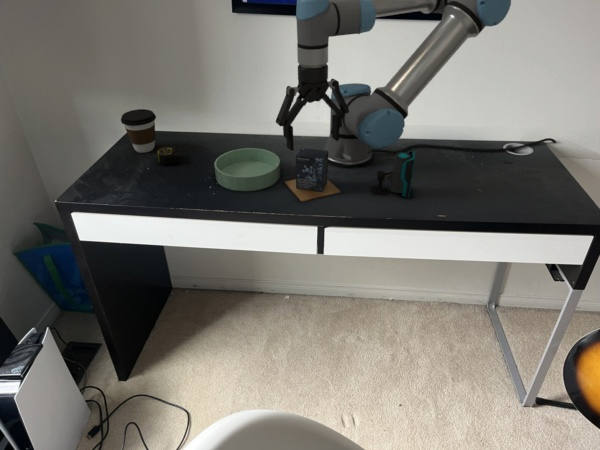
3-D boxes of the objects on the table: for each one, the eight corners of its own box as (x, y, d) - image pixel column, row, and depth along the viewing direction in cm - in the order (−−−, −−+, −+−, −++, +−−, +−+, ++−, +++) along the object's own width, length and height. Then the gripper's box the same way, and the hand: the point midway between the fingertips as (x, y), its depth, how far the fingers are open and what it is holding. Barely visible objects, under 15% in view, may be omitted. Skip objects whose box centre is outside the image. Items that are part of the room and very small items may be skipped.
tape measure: (180, 164, 149) (179, 153, 146) (158, 167, 147) (156, 156, 145) (178, 155, 154) (176, 145, 152) (157, 158, 152) (154, 148, 150)
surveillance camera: (377, 147, 129) (414, 149, 128) (373, 185, 136) (409, 188, 135) (376, 156, 125) (415, 158, 123) (372, 195, 131) (409, 198, 130)
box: (295, 189, 134) (295, 155, 128) (301, 180, 139) (301, 146, 133) (322, 193, 132) (323, 158, 126) (327, 183, 137) (328, 150, 131)
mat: (321, 174, 142) (321, 173, 142) (340, 192, 133) (340, 191, 133) (284, 182, 138) (284, 181, 138) (301, 201, 129) (301, 200, 129)
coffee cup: (136, 141, 164) (128, 107, 157) (166, 142, 162) (160, 109, 156) (122, 155, 155) (113, 120, 148) (154, 156, 153) (146, 121, 147)
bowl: (266, 156, 153) (265, 143, 150) (290, 182, 138) (290, 168, 136) (208, 168, 146) (206, 155, 144) (227, 197, 132) (225, 182, 129)
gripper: (349, 53, 123) (346, 130, 135) (259, 67, 115) (265, 147, 127) (364, 60, 118) (360, 140, 129) (271, 75, 109) (275, 158, 121)
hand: (313, 143), depth 128 cm, fingers open, 13 cm apart
